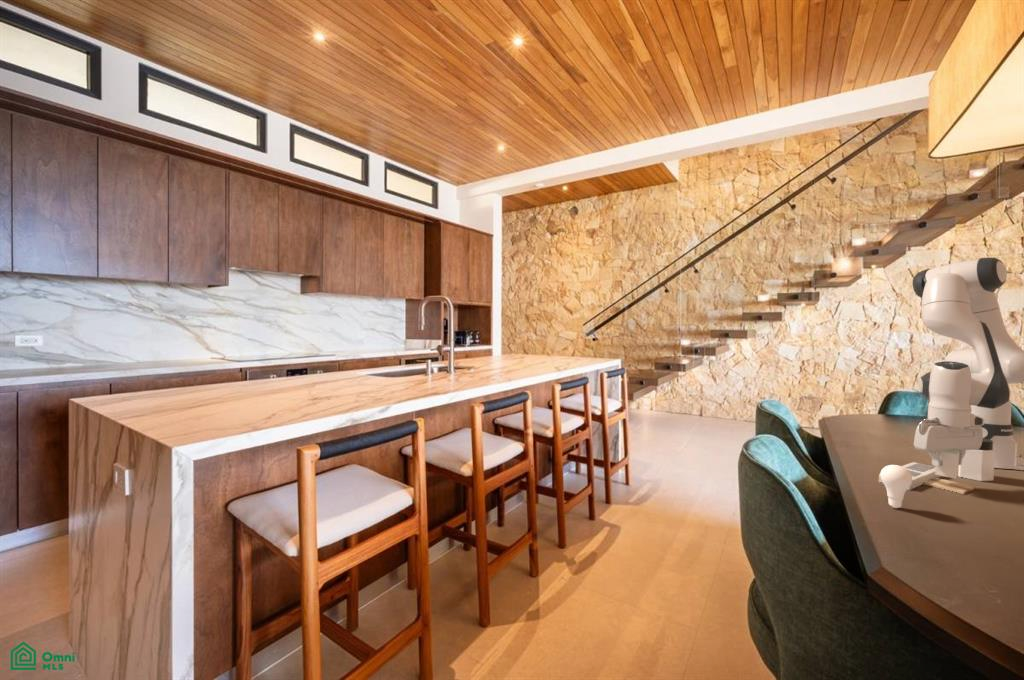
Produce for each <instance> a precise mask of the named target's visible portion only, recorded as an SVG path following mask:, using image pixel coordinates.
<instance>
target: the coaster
mask: <svg viewBox="0 0 1024 680" xmlns="http://www.w3.org/2000/svg"><path fill="white" fill-rule="evenodd" d="M922 485H925V486H928V487H931V486H932V487H933V488H936V489H940V488H941V490H944V489H945V490H944V491H948V490H949V491H948V492H952V491H953V493H956V492H957V494H959V495H960V494H961V495H965V494H968V493H969V492H971V491H973V490H975V489H976V486H973V485H969V484H965V483H961V482H956V481H952V480H949V479H943V478H941V477H939V478H936V477H935V478H932V479H930V480H927V481H925V482H923V484H922Z"/></svg>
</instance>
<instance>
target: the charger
mask: <svg viewBox="0 0 1024 680" xmlns="http://www.w3.org/2000/svg"><path fill="white" fill-rule="evenodd" d="M959 454H960V450H959V449H955V450H950V451H941V455H939V456H940V459H941V460H943V463H942V464H943V465H942V466H935V467H936V469H935V474H936V475H941V476H942V477H945V478H951V479H955V480H956V479H957V478H958V477H959V476H958V471H959Z"/></svg>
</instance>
